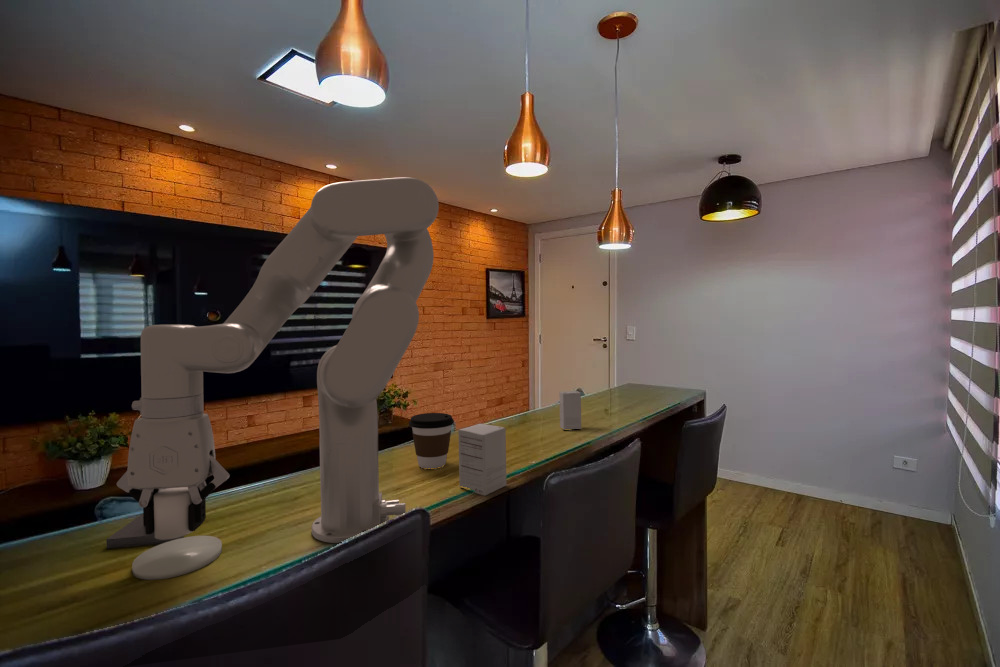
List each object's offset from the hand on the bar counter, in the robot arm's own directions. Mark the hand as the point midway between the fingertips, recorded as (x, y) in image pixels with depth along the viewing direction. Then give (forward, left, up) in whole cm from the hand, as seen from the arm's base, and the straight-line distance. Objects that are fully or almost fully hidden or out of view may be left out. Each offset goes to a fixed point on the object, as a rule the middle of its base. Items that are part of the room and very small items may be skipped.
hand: (175, 527), depth 69 cm
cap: (0, 0, -1) cm, 1 cm away
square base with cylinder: (+8, -11, -5) cm, 14 cm away
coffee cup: (-39, -37, -5) cm, 54 cm away
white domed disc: (0, 0, -5) cm, 5 cm away
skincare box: (-84, -65, -5) cm, 107 cm away
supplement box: (-49, -20, -5) cm, 54 cm away
